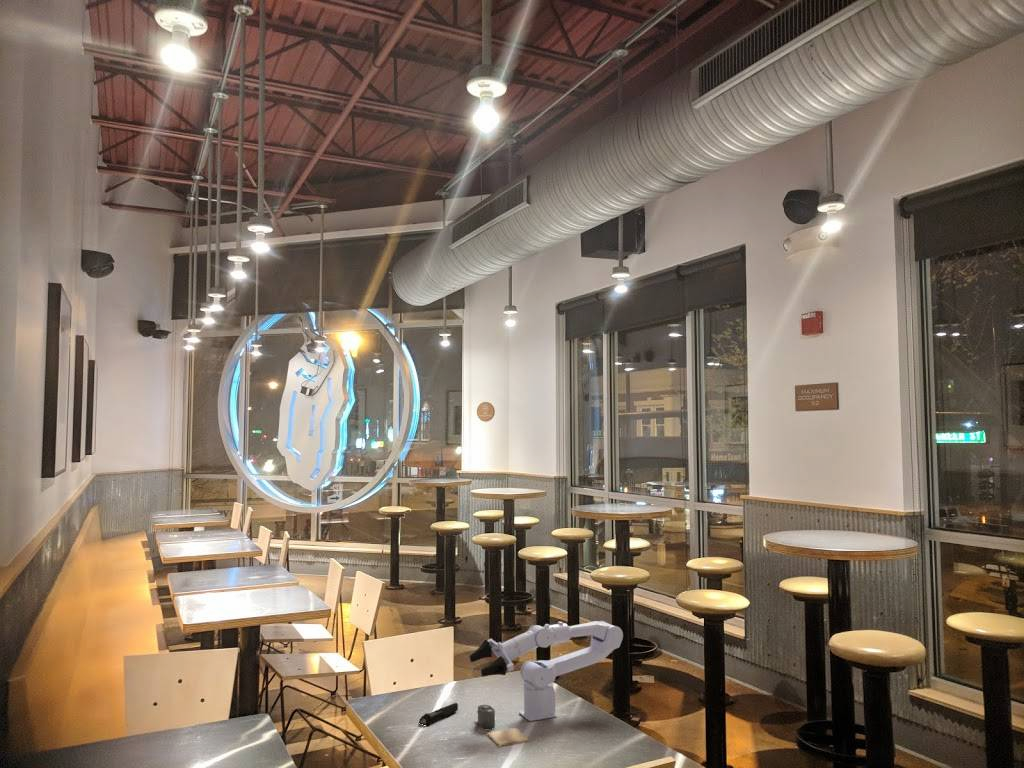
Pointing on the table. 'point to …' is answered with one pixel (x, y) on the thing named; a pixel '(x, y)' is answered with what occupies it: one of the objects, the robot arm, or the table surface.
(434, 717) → the electric trimmer
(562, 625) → the robot arm
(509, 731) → the pad
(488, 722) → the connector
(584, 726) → the table surface
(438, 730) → the table surface
